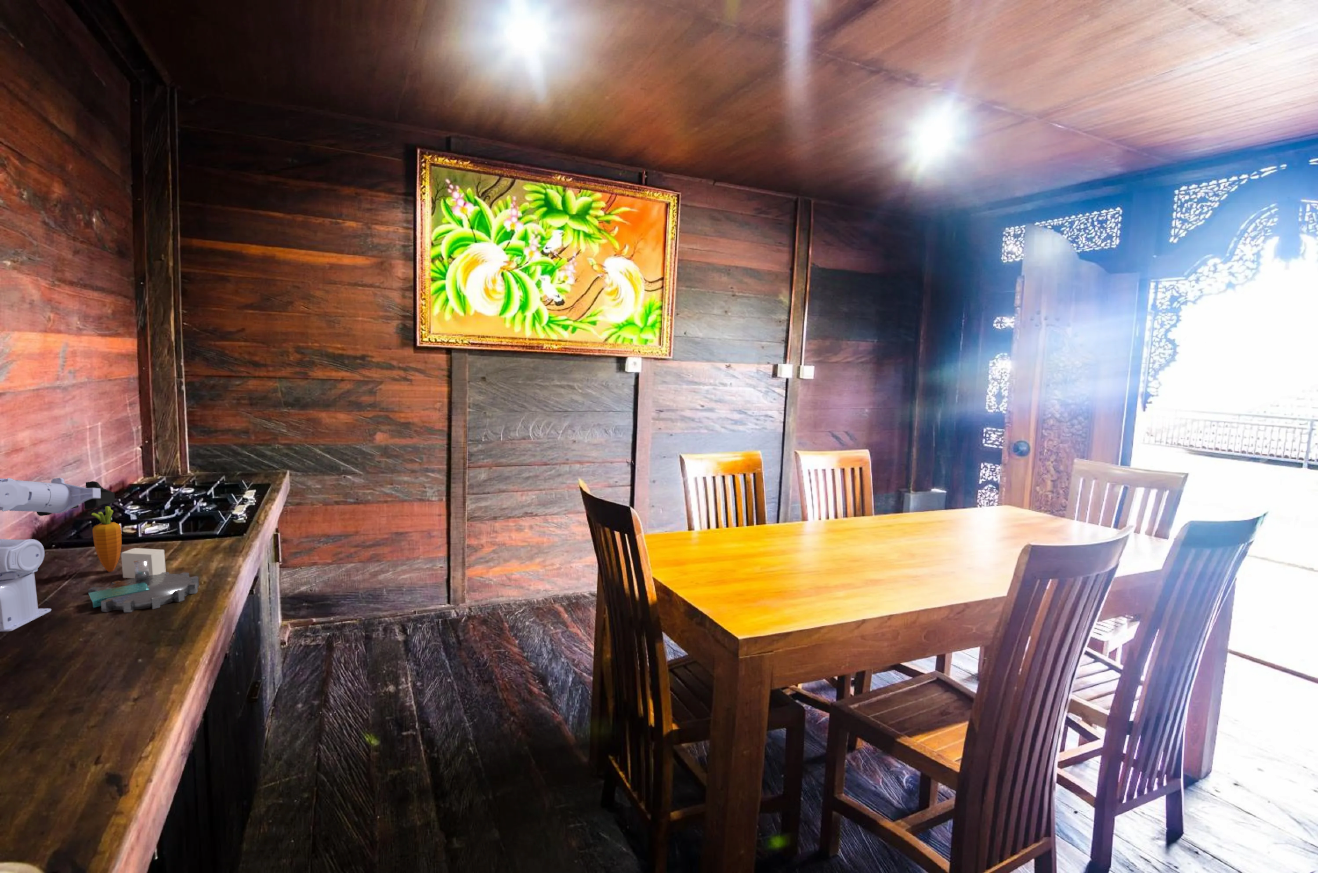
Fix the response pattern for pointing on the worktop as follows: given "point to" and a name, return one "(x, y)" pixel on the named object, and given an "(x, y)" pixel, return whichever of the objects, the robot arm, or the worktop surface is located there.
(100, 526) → the carrot
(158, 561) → the white rectangular block
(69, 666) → the worktop surface
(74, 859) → the worktop surface
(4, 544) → the robot arm
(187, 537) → the worktop surface
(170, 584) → the sprocket
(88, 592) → the timing pointer
